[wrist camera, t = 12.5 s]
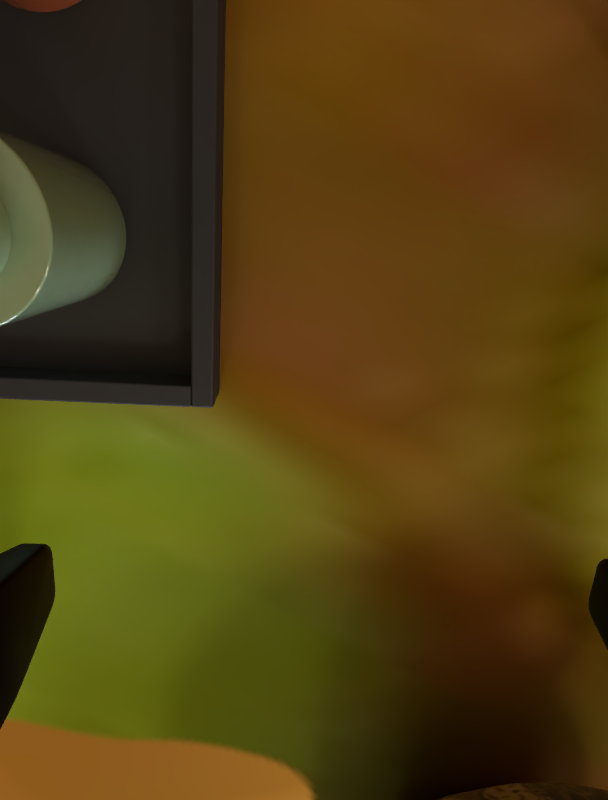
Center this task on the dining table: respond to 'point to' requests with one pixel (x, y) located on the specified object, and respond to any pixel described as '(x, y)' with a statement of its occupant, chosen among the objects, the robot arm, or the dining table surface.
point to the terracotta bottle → (42, 4)
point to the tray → (126, 194)
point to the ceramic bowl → (532, 792)
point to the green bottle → (53, 231)
